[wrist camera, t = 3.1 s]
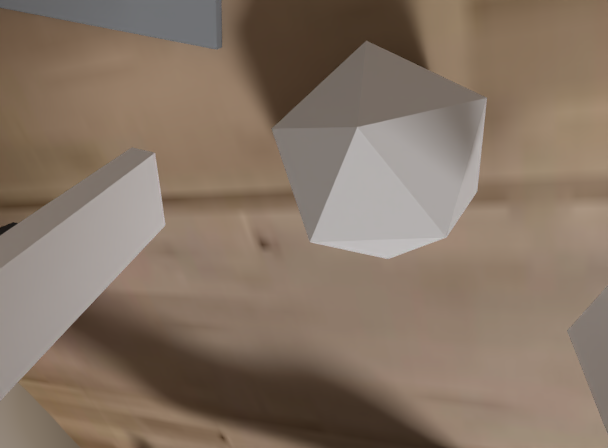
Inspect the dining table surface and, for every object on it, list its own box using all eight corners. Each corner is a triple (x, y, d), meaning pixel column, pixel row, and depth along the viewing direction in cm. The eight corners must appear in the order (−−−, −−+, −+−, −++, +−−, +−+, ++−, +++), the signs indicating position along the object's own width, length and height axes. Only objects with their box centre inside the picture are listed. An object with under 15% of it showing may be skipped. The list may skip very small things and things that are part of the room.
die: (346, 0, 17) (196, 136, 14) (555, 12, 12) (392, 224, 9) (372, 136, 23) (272, 249, 20) (517, 180, 18) (413, 338, 15)
